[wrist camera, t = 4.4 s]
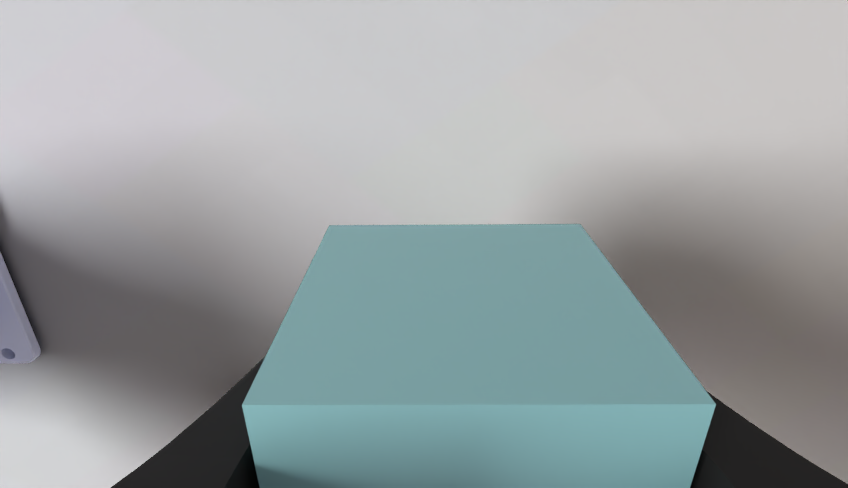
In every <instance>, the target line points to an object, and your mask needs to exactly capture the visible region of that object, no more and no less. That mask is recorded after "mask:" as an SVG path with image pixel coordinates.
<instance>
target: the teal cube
mask: <svg viewBox="0 0 848 488" xmlns="http://www.w3.org/2000/svg"><path fill="white" fill-rule="evenodd" d="M715 406H716V404H715V402H714V401H713V400H712V398H711V397H710V396H709V394H708V393H707V392H706V390H705V389H704V388H703V386H702V385H701V384H700V382H699V381H698V380H697V378H696V377H695V376H694V374H693V373H692V372H691V370H690V369H689V368H688V366H687V365H686V364H685V362H684V361H683V360H682V358H681V357H680V356H679V354H678V353H677V352H676V350H675V349H674V348H673V346H672V345H671V344H670V343H669V341H668V340H667V339H666V337H665V336H664V335H663V333H662V332H661V331H660V329H659V328H658V327H657V325H656V324H655V323H654V321H653V320H652V319H651V317H650V316H649V315H648V313H647V312H646V311H645V309H644V308H643V307H642V305H641V304H640V303H639V301H638V300H637V299H636V297H635V296H634V295H633V293H632V292H631V291H630V289H629V288H628V287H627V285H626V284H625V283H624V281H623V280H622V279H621V278H620V276H619V275H618V274H617V272H616V271H615V270H614V268H613V267H612V266H611V264H610V263H609V262H608V260H607V259H606V258H605V256H604V255H603V254H602V252H601V251H600V250H599V248H598V247H597V246H596V244H595V243H594V242H593V240H592V239H591V238H590V236H589V235H588V234H587V232H586V231H585V230H584V228H583V227H582V226H581V224H502V225H330V226H329V227H328V229H327V231H326V233H325V235H324V237H323V239H322V242H321V244H320V246H319V248H318V250H317V252H316V254H315V256H314V258H313V260H312V262H311V264H310V266H309V268H308V270H307V272H306V274H305V276H304V279H303V281H302V283H301V285H300V287H299V289H298V291H297V293H296V295H295V297H294V299H293V301H292V303H291V305H290V307H289V309H288V311H287V313H286V316H285V318H284V320H283V322H282V324H281V326H280V328H279V330H278V332H277V334H276V336H275V338H274V340H273V342H272V344H271V346H270V348H269V350H268V352H267V355H266V357H265V359H264V361H263V363H262V365H261V367H260V369H259V371H258V373H257V375H256V377H255V379H254V381H253V383H252V385H251V387H250V389H249V392H248V394H247V396H246V398H245V400H244V402H243V404H242V408H243V413H244V417H245V422H246V427H247V431H248V436H249V441H250V445H251V450H252V454H253V459H254V464H255V468H256V473H257V478H258V482H259V487H260V488H690V486H691V483H692V480H693V477H694V473H695V470H696V467H697V464H698V461H699V457H700V454H701V451H702V448H703V445H704V441H705V438H706V435H707V432H708V429H709V425H710V422H711V419H712V416H713V413H714V409H715Z"/></svg>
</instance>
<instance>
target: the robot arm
mask: <svg viewBox="0 0 848 488" xmlns="http://www.w3.org/2000/svg"><path fill="white" fill-rule="evenodd" d="M40 353H41V350H40V347H39V344H38V342H37V340H36V337H35V335H34V332H33V330H32V327H31V325H30V323H29V320H28V318H27V315H26V313H25V310H24V308H23V306H22V303H21V301H20V298H19V296H18V293H17V291H16V289H15V286H14V284H13V281H12V279H11V276H10V274H9V272H8V269H7V267H6V264H5V262H4V260H3V257H2V255H1V252H0V363H31V362H32V361H34V360H35V359H36V358H37V357H38V356H40ZM265 357H266V356H265ZM265 357H264V358H263V359H262V360H261V361H260V362H259V363H258V364H257V365H256V366H255V367H254V368H253V369H252V370H251V371H250V372H249V373H248V374H246V375H245V376H244V377H243V378H242V379H241V380H240V381H239V382H238V383H237V384H236V385H235V386H234V387H233V388H232V389H231V390H229V391H228V392H227V393H226V394H225V395H224V396H223V397H222V398H221V399H220V400H219V401H218V402H217V403H216V404H214V405H213V406H212V407H211V408H210V409H209V410H207V411H206V412H205V413H204V414H203V415H202V416H200V417H199V418H198V419H197V420H196V421H195V422H193V423H192V424H191V425H190V426H189V427H188V428H186V429H185V430H184V431H183V432H182V433H181V434H179V435H178V436H177V437H176V438H175V439H174V440H172V441H171V442H170V443H169V444H168V445H166V446H165V447H164V448H163V449H161V450H160V451H159V452H158V453H156V454H155V455H154V456H153V457H151V458H150V459H149V460H147V461H146V462H145V463H143V464H142V465H141V466H140V467H138V468H137V469H136V470H134V471H133V472H131V473H130V474H129V475H127V476H126V477H125V478H123V479H122V480H121V481H119V482H118V483H116V484H115V485H114V486H112V487H111V488H260V487H259V482H258V478H257V473H256V468H255V464H254V459H253V454H252V450H251V445H250V441H249V436H248V431H247V427H246V422H245V417H244V413H243V408H242V404H243V402H244V400H245V398H246V396H247V394H248V392H249V389H250V387H251V385H252V383H253V381H254V379H255V377H256V375H257V373H258V371H259V369H260V367H261V365H262V363H263V361H264V359H265ZM706 392H707V391H706ZM707 393H708V392H707ZM708 394H709V396H710V397H711V398H712V400H713V401H714V402H715V404H716V406H715V409H714V413H713V416H712V419H711V422H710V425H709V429H708V432H707V435H706V438H705V441H704V445H703V448H702V451H701V454H700V457H699V461H698V464H697V467H696V470H695V473H694V477H693V480H692V483H691V486H690V488H848V484H846V483H845V482H843V481H841V480H840V479H838V478H836V477H835V476H833V475H831V474H830V473H828V472H826V471H825V470H823V469H821V468H819V467H818V466H816V465H815V464H813V463H811V462H810V461H808V460H807V459H805V458H803V457H802V456H800V455H799V454H797V453H796V452H794V451H792V450H791V449H789V448H788V447H786V446H785V445H783V444H782V443H780V442H779V441H777V440H776V439H774V438H773V437H771V436H770V435H768V434H767V433H765V432H764V431H762V430H761V429H759V428H758V427H756V426H755V425H753V424H752V423H750V422H749V421H748V420H746V419H745V418H743V417H742V416H740V415H739V414H738V413H736V412H735V411H733V410H732V409H730V408H729V407H728V406H726V405H725V404H723V403H722V402H721V401H719V400H718V399H717V398H715V397H714V396H712V395H711V394H710V393H708Z"/></svg>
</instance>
